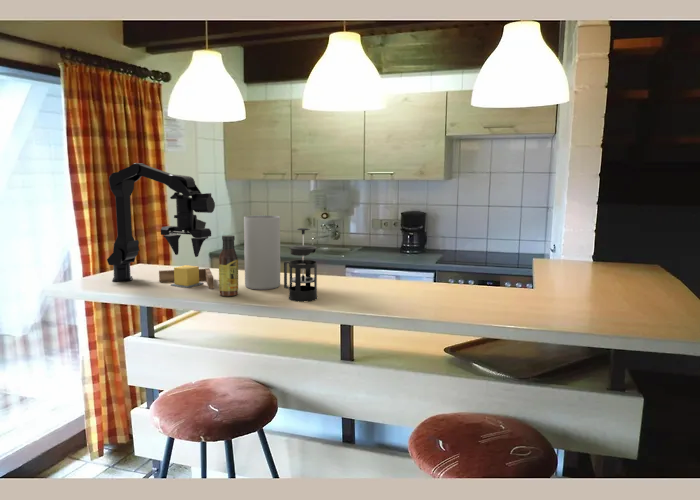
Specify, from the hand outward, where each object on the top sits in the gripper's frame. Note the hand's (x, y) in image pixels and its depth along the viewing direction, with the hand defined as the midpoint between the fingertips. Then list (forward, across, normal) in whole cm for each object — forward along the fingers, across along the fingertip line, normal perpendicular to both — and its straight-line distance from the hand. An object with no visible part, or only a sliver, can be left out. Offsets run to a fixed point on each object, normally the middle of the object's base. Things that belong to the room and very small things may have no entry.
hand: (186, 255), depth 184 cm
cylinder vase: (+11, -25, -11) cm, 29 cm away
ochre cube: (+10, 0, 0) cm, 10 cm away
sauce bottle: (+11, -23, +5) cm, 26 cm away
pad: (+11, 0, 0) cm, 11 cm away
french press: (+11, -46, -2) cm, 48 cm away
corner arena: (+11, +1, 0) cm, 11 cm away
